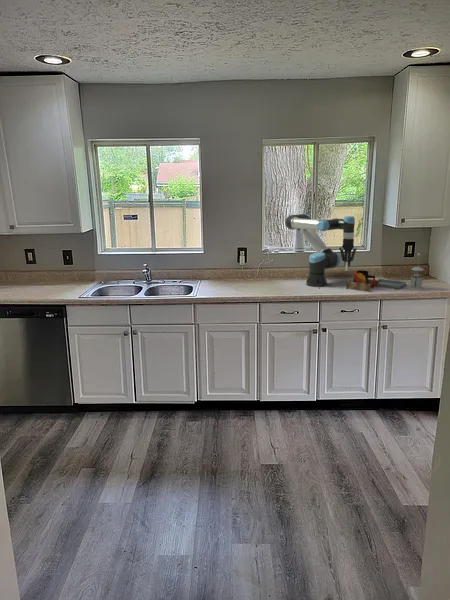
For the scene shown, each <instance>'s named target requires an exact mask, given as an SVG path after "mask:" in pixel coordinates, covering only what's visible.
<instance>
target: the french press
mask: <svg viewBox="0 0 450 600" xmlns="http://www.w3.org/2000/svg"><path fill="white" fill-rule="evenodd" d="M417 256H421V253H419V252H418V253H417ZM419 261H420V259H419V258H418V261H417V264H419ZM411 271H414V273H412V274H411V276H410V284H409V285H410V286H409V287H408V289H409V290H412V289H413V291H422V290H421V289H423V290H424V287H423V282H424V276H423V274H421V273H420V274H419V272H422V271H425V269H424V267H423V268H422V267H420V266H414V267H412V268H411Z"/></svg>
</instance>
